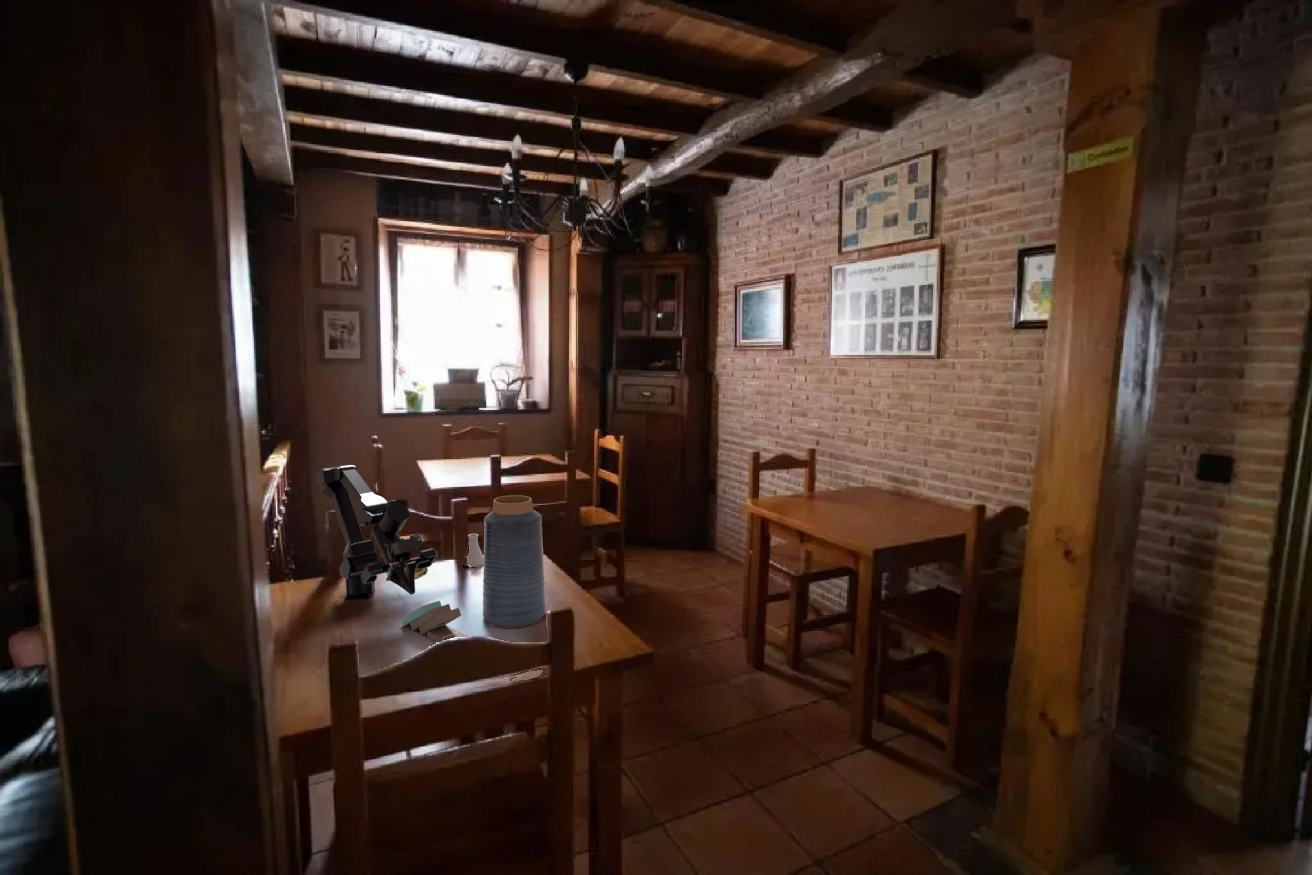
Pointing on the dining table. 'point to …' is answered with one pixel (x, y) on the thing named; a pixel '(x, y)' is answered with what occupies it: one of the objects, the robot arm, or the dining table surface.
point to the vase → (513, 564)
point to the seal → (420, 572)
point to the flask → (474, 552)
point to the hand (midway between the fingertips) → (413, 593)
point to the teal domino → (419, 612)
